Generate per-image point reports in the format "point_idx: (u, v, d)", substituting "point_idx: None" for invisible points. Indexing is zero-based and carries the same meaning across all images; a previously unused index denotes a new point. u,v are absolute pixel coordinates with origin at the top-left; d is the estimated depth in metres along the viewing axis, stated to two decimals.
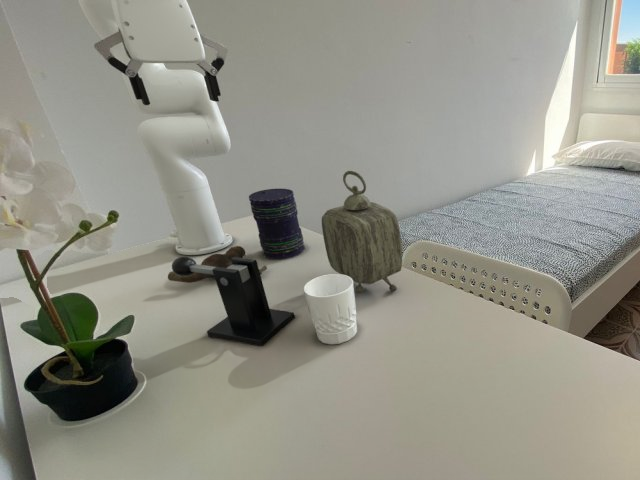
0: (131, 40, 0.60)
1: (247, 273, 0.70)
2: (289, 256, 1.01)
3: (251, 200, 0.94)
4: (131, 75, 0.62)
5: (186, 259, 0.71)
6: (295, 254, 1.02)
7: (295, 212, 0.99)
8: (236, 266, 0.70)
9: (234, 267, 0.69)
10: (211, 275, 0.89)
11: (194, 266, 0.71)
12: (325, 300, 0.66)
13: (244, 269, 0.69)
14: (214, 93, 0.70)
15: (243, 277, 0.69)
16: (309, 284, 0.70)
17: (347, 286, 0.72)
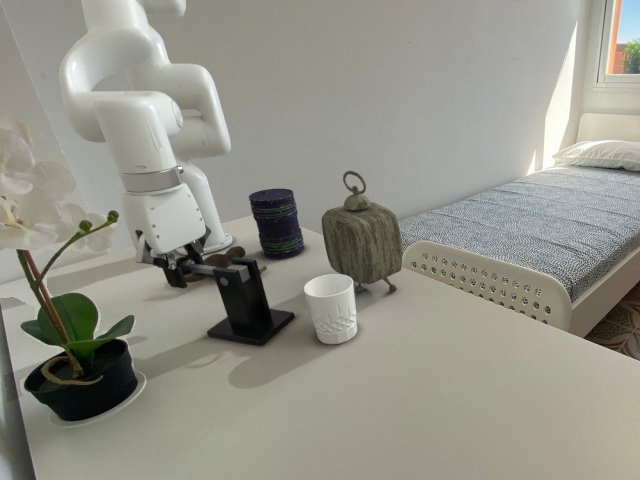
0: (157, 239, 0.65)
1: (247, 273, 0.70)
2: (289, 256, 1.01)
3: (251, 200, 0.94)
4: (173, 267, 0.69)
5: (186, 259, 0.71)
6: (295, 254, 1.02)
7: (295, 212, 0.99)
8: (236, 266, 0.70)
9: (234, 267, 0.69)
10: (211, 275, 0.89)
11: (194, 266, 0.71)
12: (325, 300, 0.66)
13: (244, 269, 0.69)
14: None
15: (243, 277, 0.69)
16: (309, 284, 0.70)
17: (347, 286, 0.72)
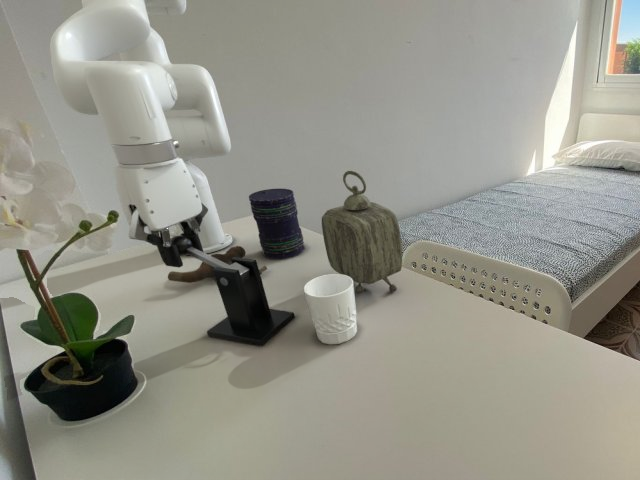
0: (151, 214, 0.63)
1: (247, 275, 0.71)
2: (289, 256, 1.01)
3: (251, 200, 0.94)
4: (168, 245, 0.67)
5: (185, 241, 0.69)
6: (295, 254, 1.02)
7: (295, 212, 0.99)
8: (239, 267, 0.70)
9: (236, 267, 0.69)
10: (211, 275, 0.89)
11: (192, 250, 0.70)
12: (325, 300, 0.66)
13: (246, 272, 0.70)
14: (200, 249, 0.72)
15: (243, 279, 0.70)
16: (309, 284, 0.70)
17: (347, 286, 0.72)
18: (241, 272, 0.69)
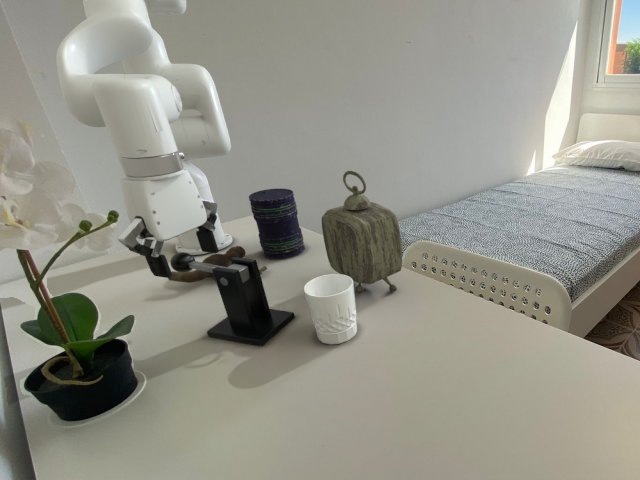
0: (158, 225, 0.64)
1: (247, 273, 0.70)
2: (289, 256, 1.01)
3: (251, 200, 0.94)
4: (156, 255, 0.65)
5: (185, 255, 0.71)
6: (295, 254, 1.02)
7: (295, 212, 0.99)
8: (237, 266, 0.70)
9: (234, 267, 0.69)
10: (211, 275, 0.89)
11: (193, 263, 0.71)
12: (325, 300, 0.66)
13: (244, 270, 0.70)
14: (215, 246, 0.75)
15: (243, 277, 0.70)
16: (309, 284, 0.70)
17: (347, 286, 0.72)
18: (239, 270, 0.69)
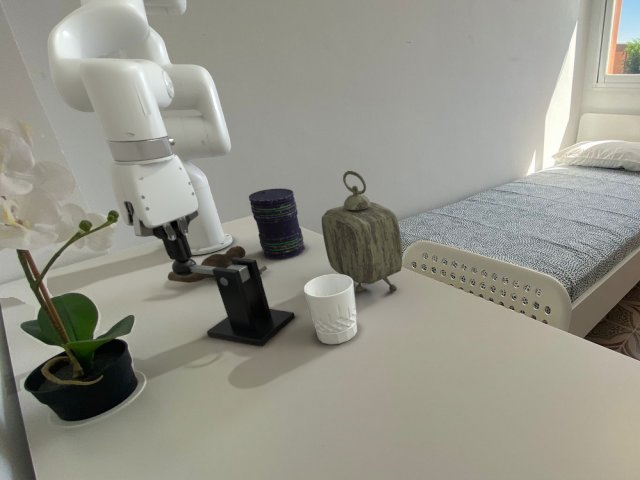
0: (147, 211, 0.63)
1: (247, 273, 0.70)
2: (289, 256, 1.01)
3: (251, 200, 0.94)
4: (173, 239, 0.68)
5: None
6: (295, 254, 1.02)
7: (295, 212, 0.99)
8: (236, 266, 0.70)
9: (234, 267, 0.69)
10: (211, 275, 0.89)
11: (194, 266, 0.71)
12: (325, 300, 0.66)
13: (244, 269, 0.69)
14: (188, 251, 0.71)
15: (243, 277, 0.69)
16: (309, 284, 0.70)
17: (347, 286, 0.72)
18: (238, 269, 0.69)
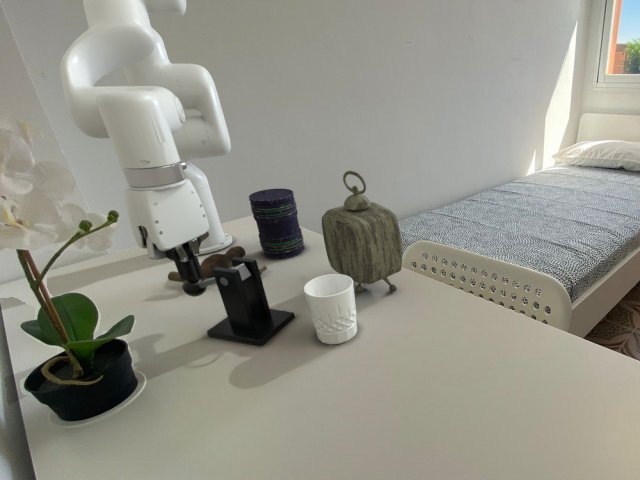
0: (160, 235, 0.64)
1: (246, 270, 0.70)
2: (289, 256, 1.01)
3: (251, 200, 0.94)
4: (185, 260, 0.70)
5: None
6: (295, 254, 1.02)
7: (295, 212, 0.99)
8: (234, 266, 0.70)
9: (232, 267, 0.70)
10: (211, 275, 0.89)
11: (201, 281, 0.72)
12: (325, 300, 0.66)
13: (241, 266, 0.69)
14: (199, 271, 0.72)
15: (242, 274, 0.69)
16: (309, 284, 0.70)
17: (347, 286, 0.72)
18: (235, 267, 0.69)
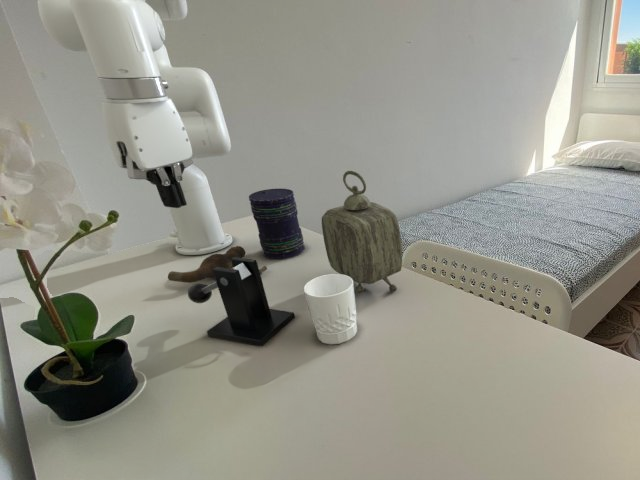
0: (140, 152, 0.62)
1: (245, 269, 0.70)
2: (289, 256, 1.01)
3: (251, 200, 0.94)
4: (167, 184, 0.68)
5: (197, 284, 0.74)
6: (295, 254, 1.02)
7: (295, 212, 0.99)
8: (234, 267, 0.70)
9: (232, 268, 0.70)
10: (211, 275, 0.89)
11: (205, 287, 0.73)
12: (325, 300, 0.66)
13: (240, 266, 0.69)
14: (182, 198, 0.70)
15: (242, 273, 0.69)
16: (309, 284, 0.70)
17: (347, 286, 0.72)
18: (234, 267, 0.69)
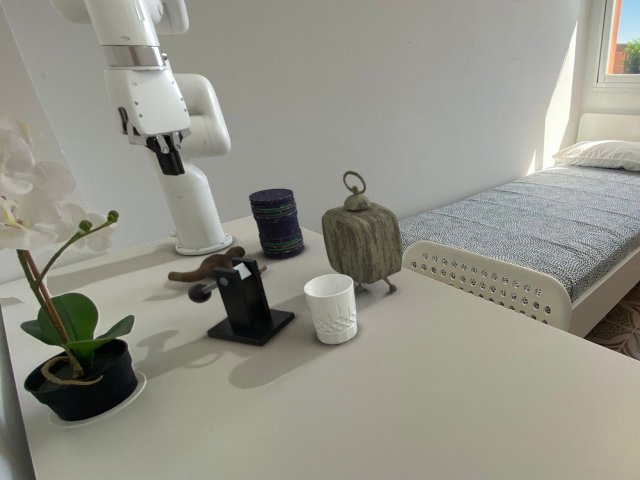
0: (140, 118, 0.65)
1: (245, 269, 0.70)
2: (289, 256, 1.01)
3: (251, 200, 0.94)
4: (166, 151, 0.70)
5: (197, 284, 0.74)
6: (295, 254, 1.02)
7: (295, 212, 0.99)
8: (234, 267, 0.70)
9: (232, 268, 0.70)
10: (211, 275, 0.89)
11: (205, 287, 0.73)
12: (325, 300, 0.66)
13: (240, 266, 0.69)
14: (181, 167, 0.73)
15: (242, 273, 0.69)
16: (309, 284, 0.70)
17: (347, 286, 0.72)
18: (234, 267, 0.69)
